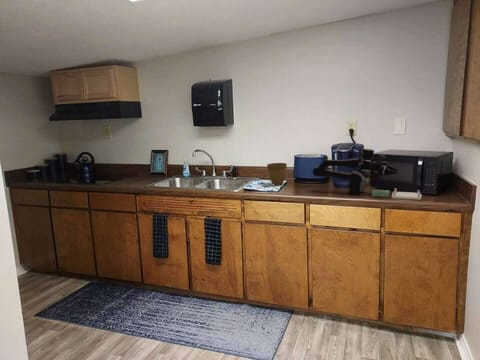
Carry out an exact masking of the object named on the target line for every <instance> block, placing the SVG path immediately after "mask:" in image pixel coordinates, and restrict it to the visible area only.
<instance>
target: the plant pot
mask: <svg viewBox="0 0 480 360" xmlns="http://www.w3.org/2000/svg"><path fill="white" fill-rule="evenodd" d="M287 166H288V164H287V163H285V162H274V163H268V164H266V167H267V171H268V172H267V173H268V175H269V179H270V182H271V184H272V185H273V184H274V185H280V186H282V185H281V184H284V182H285V177H286V174H287ZM274 185H273V186H274Z"/></svg>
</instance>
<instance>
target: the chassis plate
mask: <svg viewBox="0 0 480 360" xmlns="http://www.w3.org/2000/svg"><path fill="white" fill-rule="evenodd" d="M419 191H420V192H419ZM420 193H421V189H420V190H418V189H417V192H411V191H410V192H409V191H397V188H396V187H395V188H394V191H392V194H391V198H392V199H405V200H419V201H420V200H422V193H421V194H420Z"/></svg>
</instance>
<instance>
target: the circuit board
mask: <svg viewBox="0 0 480 360" xmlns="http://www.w3.org/2000/svg"><path fill="white" fill-rule="evenodd" d="M371 196H373V197H387V198H388V197H390V190H389V189H386V190H385V189H372V190H371Z"/></svg>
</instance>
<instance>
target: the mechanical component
mask: <svg viewBox="0 0 480 360" xmlns="http://www.w3.org/2000/svg"><path fill="white" fill-rule="evenodd" d="M370 181H371V178H369V177H366V178H365V176H363V179H362V181H361V182H360V183H359V184H360V186H361V193H363V192H364V186H365V185H366V184H368V183H370Z"/></svg>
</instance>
